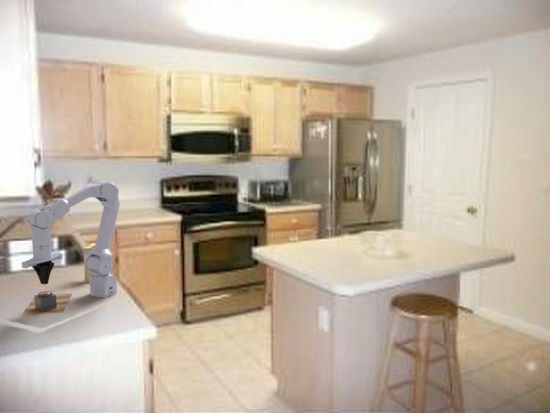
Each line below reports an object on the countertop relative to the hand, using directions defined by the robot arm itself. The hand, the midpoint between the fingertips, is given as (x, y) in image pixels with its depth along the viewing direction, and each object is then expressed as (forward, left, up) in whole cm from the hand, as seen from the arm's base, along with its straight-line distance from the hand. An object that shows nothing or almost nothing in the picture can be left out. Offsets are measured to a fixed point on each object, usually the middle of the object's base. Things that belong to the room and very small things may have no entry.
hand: (44, 283), depth 162 cm
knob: (0, 0, -9) cm, 9 cm away
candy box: (+13, -34, -10) cm, 38 cm away
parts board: (+3, -3, -10) cm, 11 cm away
